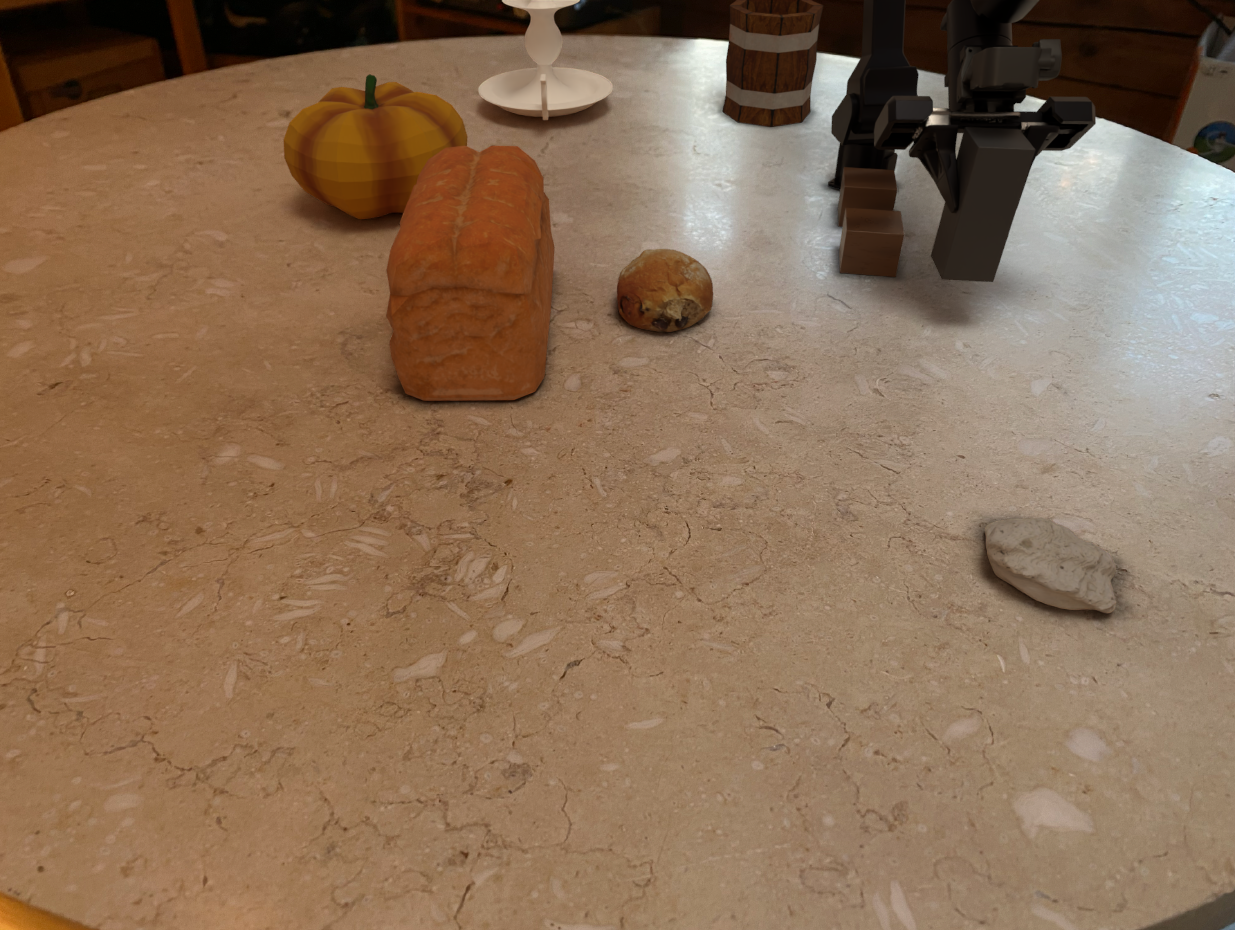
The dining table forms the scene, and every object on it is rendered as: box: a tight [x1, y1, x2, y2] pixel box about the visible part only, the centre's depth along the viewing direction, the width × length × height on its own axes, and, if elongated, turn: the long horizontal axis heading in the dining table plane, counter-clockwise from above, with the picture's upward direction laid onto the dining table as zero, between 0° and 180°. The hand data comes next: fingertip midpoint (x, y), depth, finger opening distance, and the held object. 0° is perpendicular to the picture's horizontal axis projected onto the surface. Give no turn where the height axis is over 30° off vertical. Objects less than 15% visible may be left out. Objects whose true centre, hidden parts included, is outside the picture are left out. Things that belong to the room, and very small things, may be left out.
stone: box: [984, 517, 1118, 614], centre depth 66 cm, size 10×5×10 cm
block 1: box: [837, 167, 898, 228], centre depth 112 cm, size 6×6×5 cm
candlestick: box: [477, 0, 614, 121], centre depth 135 cm, size 21×25×28 cm
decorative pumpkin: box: [282, 74, 468, 220], centre depth 114 cm, size 20×22×15 cm
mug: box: [722, 0, 824, 128], centre depth 142 cm, size 20×14×15 cm
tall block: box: [930, 127, 1035, 283], centre depth 88 cm, size 5×5×13 cm
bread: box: [385, 145, 556, 401], centre depth 89 cm, size 14×27×15 cm, turn 1°
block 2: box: [838, 208, 905, 278], centre depth 103 cm, size 6×6×5 cm
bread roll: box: [616, 248, 714, 333], centre depth 95 cm, size 10×10×8 cm
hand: (983, 211), depth 87 cm, fingers closed on tall block, 5 cm apart
